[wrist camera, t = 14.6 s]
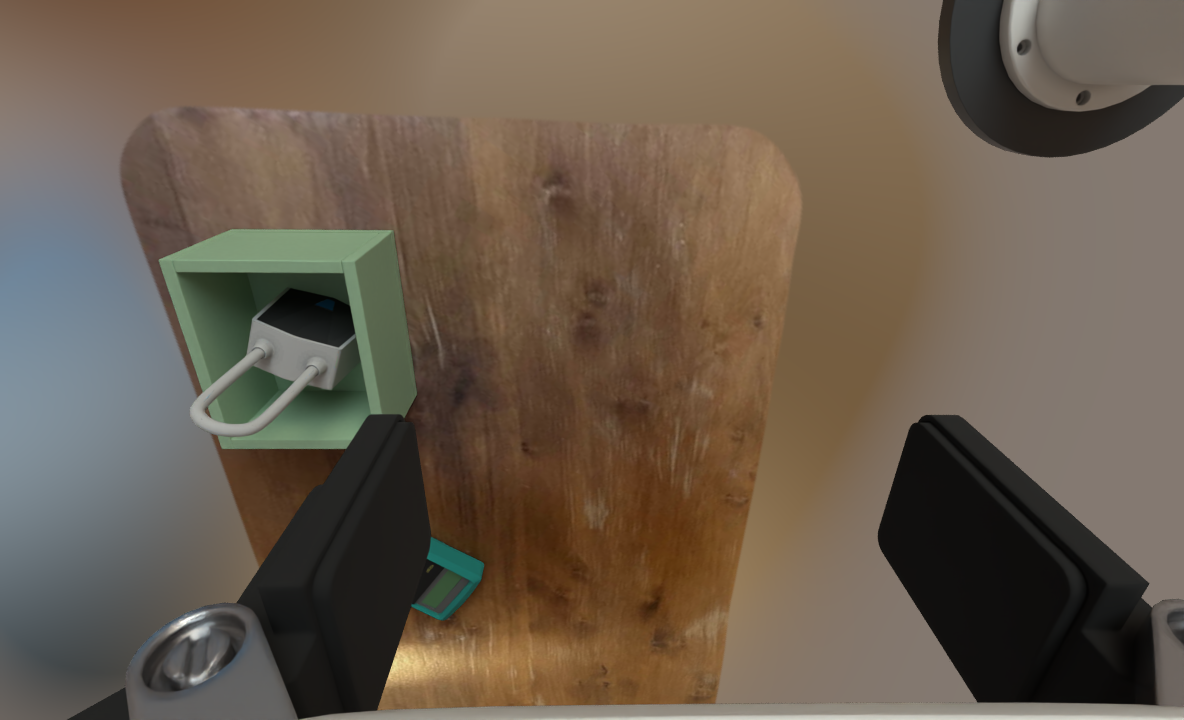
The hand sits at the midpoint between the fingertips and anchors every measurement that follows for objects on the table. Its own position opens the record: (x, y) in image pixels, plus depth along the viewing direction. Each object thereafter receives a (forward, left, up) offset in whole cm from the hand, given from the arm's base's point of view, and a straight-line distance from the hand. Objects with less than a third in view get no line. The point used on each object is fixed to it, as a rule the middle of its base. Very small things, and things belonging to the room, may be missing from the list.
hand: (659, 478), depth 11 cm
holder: (+23, -2, -32) cm, 40 cm away
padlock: (+23, -2, -32) cm, 39 cm away
